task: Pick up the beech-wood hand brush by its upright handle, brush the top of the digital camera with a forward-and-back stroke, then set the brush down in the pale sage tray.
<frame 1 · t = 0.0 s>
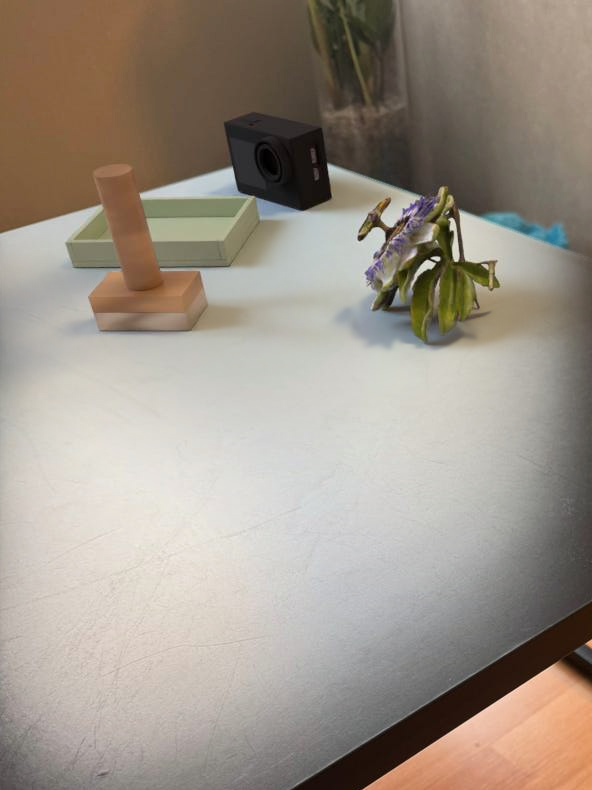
brush: (154, 317, 86), on the table
tray: (169, 243, 98), on the table
passion flower: (433, 313, 84), on the table
digital camera: (279, 198, 106), on the table
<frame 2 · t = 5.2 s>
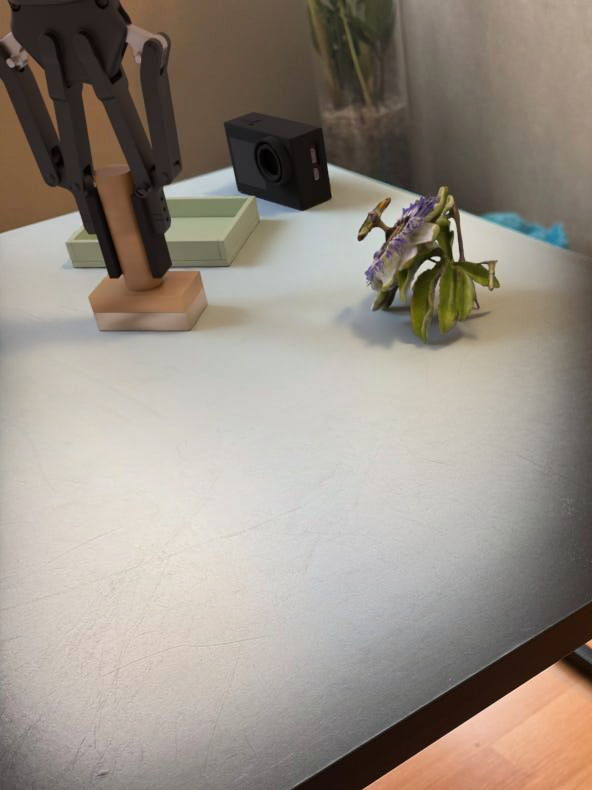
hand: (141, 271, 83), 4 cm above the table, tool pointing down, fingers closed on brush, 3 cm apart
brush: (154, 317, 86), on the table, touching gripper
everything else where it was.
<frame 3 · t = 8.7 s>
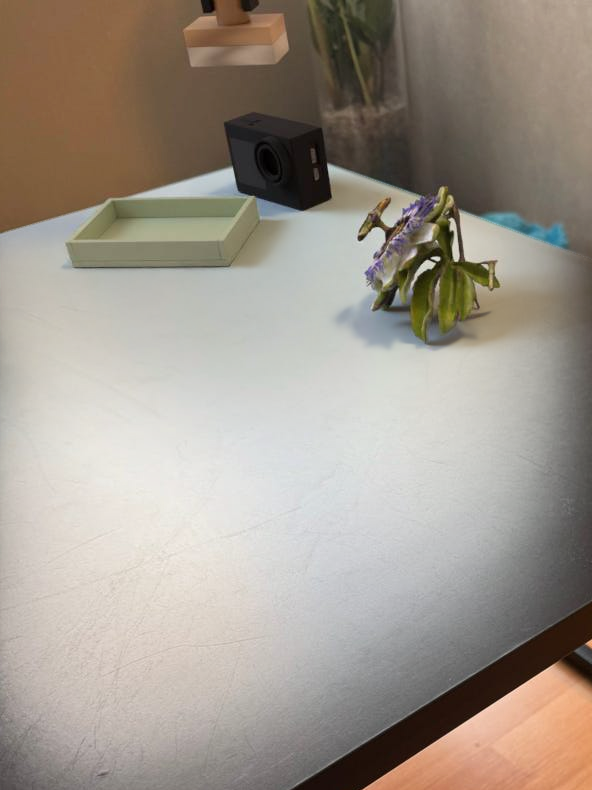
hand: (231, 8, 91), 18 cm above the table, tool pointing down, fingers closed on brush, 3 cm apart
brush: (240, 58, 94), point 14 cm above the table, touching gripper
everything else where it was.
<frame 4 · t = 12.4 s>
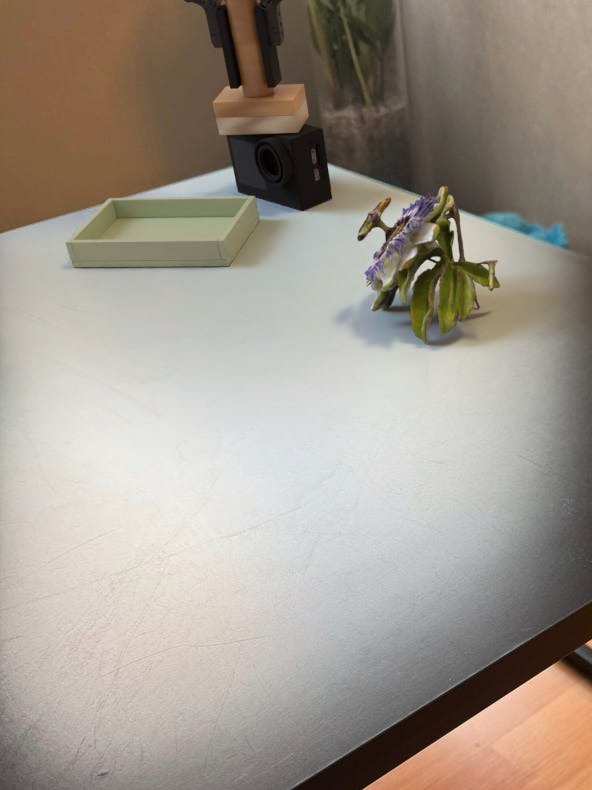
hand: (256, 83, 98), 11 cm above the table, tool pointing down, fingers closed on brush, 3 cm apart
brush: (264, 125, 101), point 7 cm above the table, touching gripper
everything else where it was.
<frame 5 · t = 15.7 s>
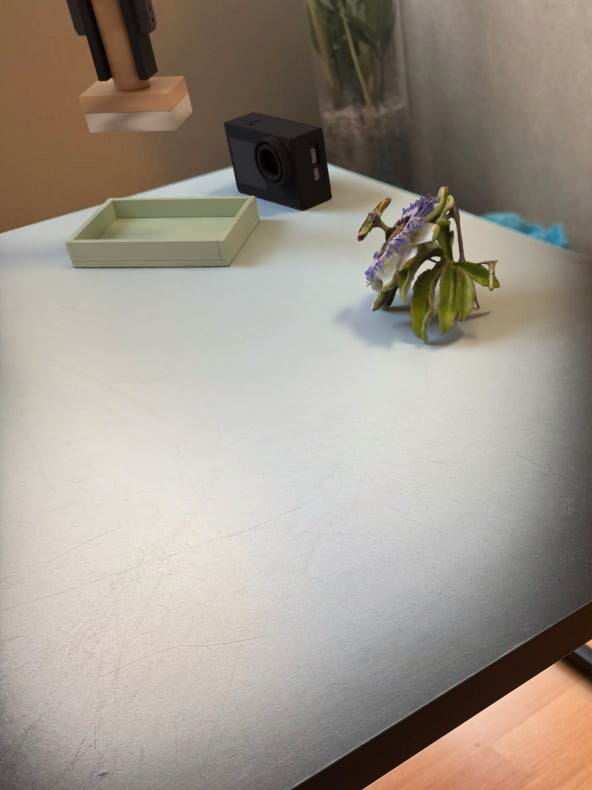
hand: (128, 75, 88), 15 cm above the table, tool pointing down, fingers closed on brush, 3 cm apart
brush: (142, 122, 91), point 11 cm above the table, touching gripper
everything else where it was.
when the fingers open (4 cm above the table, at t = 18.2 s): brush stays where it is, resting on tray.
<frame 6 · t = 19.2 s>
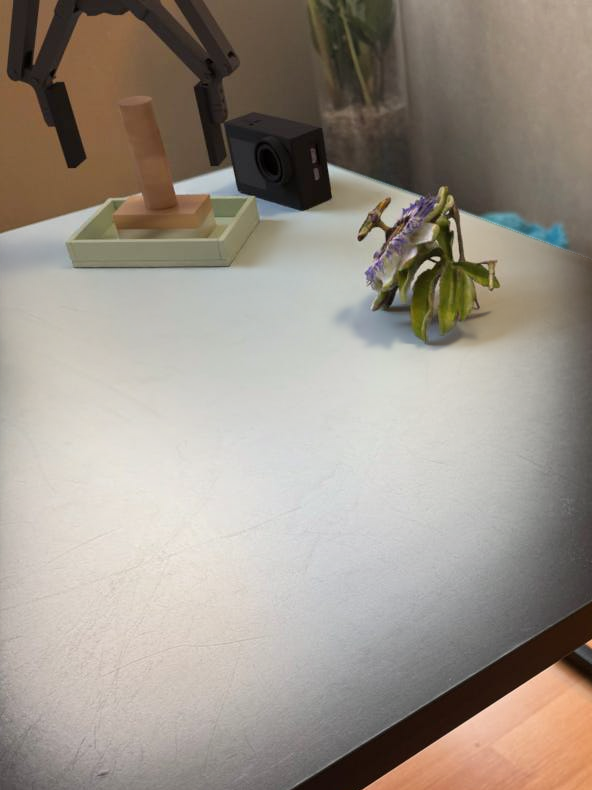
hand: (147, 162, 93), 7 cm above the table, tool pointing down, fingers open, 13 cm apart
brush: (169, 235, 98), point 1 cm above the table, touching tray
everything else where it was.
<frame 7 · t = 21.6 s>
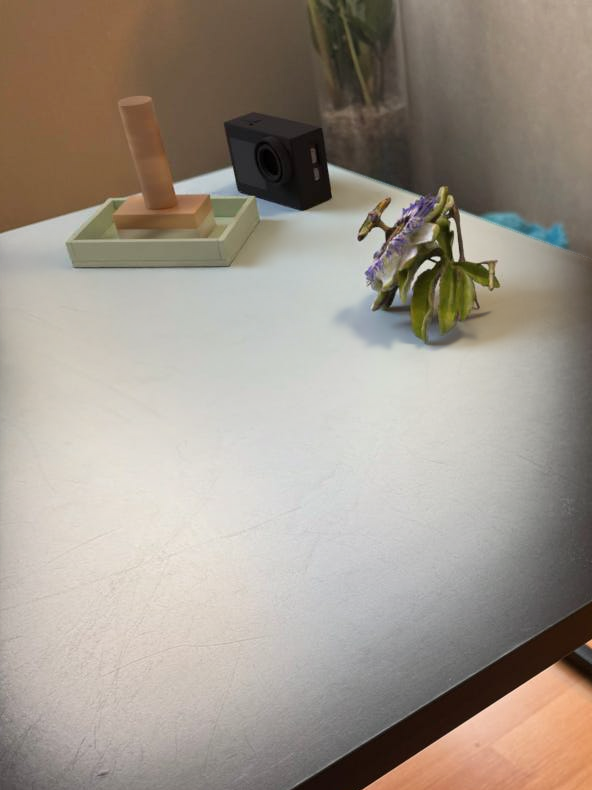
nothing on the table moved.
at the end: brush inside the target area in the tray (0.3 cm from its centre), point 0.6 cm above the tray's base; brush tilted 0°; digital camera moved 0.2 cm from its start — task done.
